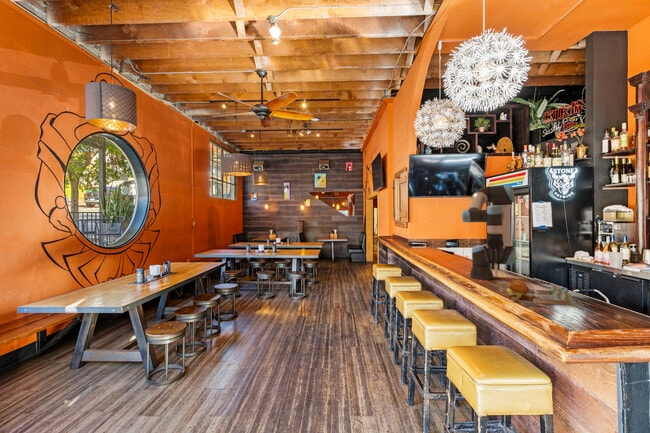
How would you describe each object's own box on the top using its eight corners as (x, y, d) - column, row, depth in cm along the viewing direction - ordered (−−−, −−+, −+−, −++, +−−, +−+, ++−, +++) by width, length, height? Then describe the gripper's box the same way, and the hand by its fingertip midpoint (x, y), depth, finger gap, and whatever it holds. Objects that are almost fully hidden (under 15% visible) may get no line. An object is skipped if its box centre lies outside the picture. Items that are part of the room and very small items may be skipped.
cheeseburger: (521, 293, 172) (523, 277, 169) (532, 303, 161) (535, 286, 159) (502, 293, 173) (504, 277, 170) (512, 303, 162) (514, 286, 160)
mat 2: (519, 302, 156) (519, 302, 156) (534, 303, 154) (534, 302, 154) (523, 305, 150) (523, 305, 150) (539, 306, 148) (539, 306, 148)
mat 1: (518, 289, 181) (518, 289, 181) (531, 290, 179) (531, 290, 179) (521, 292, 175) (521, 292, 175) (535, 292, 173) (535, 292, 173)
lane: (500, 291, 177) (500, 283, 177) (553, 293, 170) (553, 285, 170) (512, 301, 157) (512, 292, 157) (572, 304, 150) (572, 294, 150)
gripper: (483, 233, 167) (484, 276, 166) (510, 233, 163) (510, 277, 163) (480, 232, 174) (481, 273, 174) (505, 232, 170) (506, 274, 170)
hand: (495, 275), depth 168 cm, fingers closed
